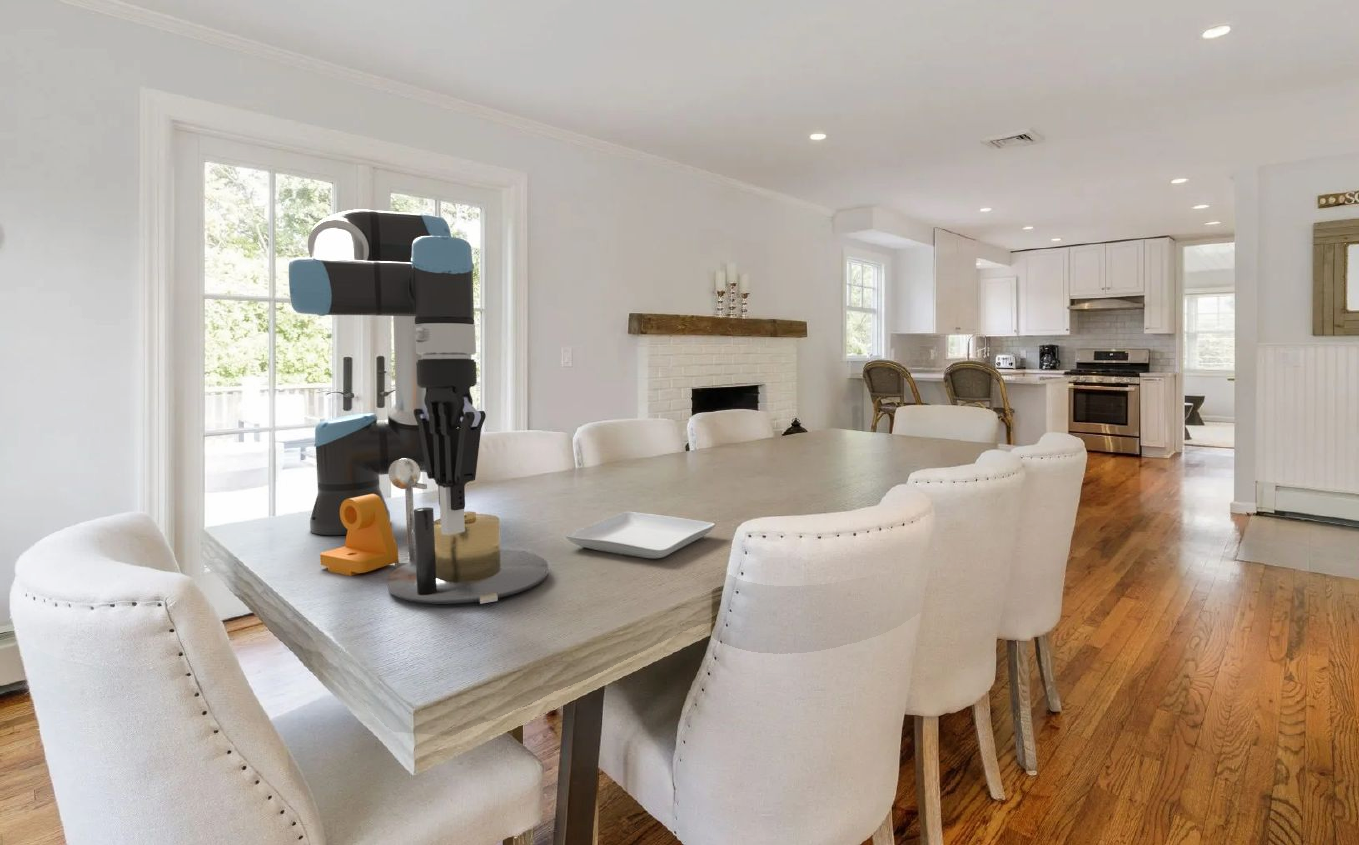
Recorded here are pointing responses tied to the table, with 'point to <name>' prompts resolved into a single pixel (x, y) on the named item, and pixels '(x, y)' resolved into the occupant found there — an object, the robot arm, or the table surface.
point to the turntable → (424, 587)
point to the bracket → (363, 538)
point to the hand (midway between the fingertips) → (453, 532)
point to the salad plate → (640, 534)
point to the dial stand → (407, 498)
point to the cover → (468, 549)
